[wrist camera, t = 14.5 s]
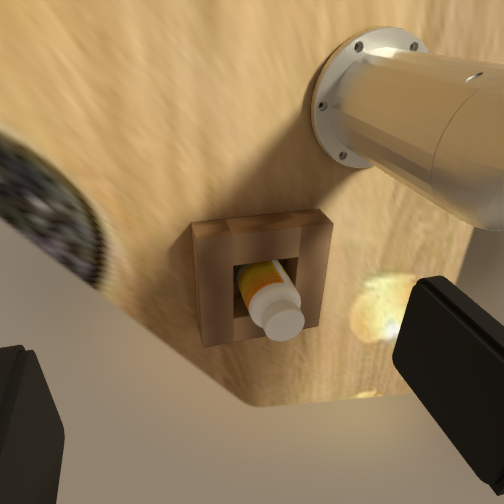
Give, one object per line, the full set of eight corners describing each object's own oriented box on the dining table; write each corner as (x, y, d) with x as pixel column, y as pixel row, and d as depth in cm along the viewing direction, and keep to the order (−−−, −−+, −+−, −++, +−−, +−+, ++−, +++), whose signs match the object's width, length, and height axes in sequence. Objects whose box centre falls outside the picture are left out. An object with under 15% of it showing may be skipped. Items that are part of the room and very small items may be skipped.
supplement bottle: (224, 280, 44) (247, 340, 36) (249, 242, 42) (278, 296, 34) (262, 294, 47) (291, 352, 39) (287, 259, 45) (322, 312, 37)
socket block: (319, 208, 42) (333, 223, 40) (307, 308, 50) (318, 326, 47) (191, 222, 39) (196, 239, 36) (198, 326, 46) (203, 347, 44)
